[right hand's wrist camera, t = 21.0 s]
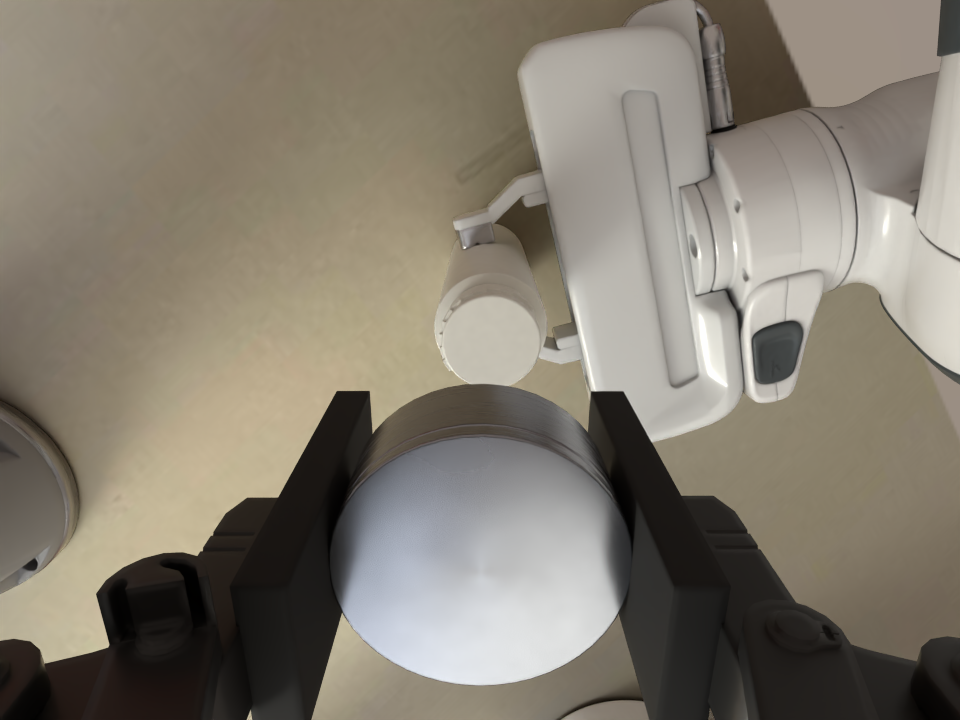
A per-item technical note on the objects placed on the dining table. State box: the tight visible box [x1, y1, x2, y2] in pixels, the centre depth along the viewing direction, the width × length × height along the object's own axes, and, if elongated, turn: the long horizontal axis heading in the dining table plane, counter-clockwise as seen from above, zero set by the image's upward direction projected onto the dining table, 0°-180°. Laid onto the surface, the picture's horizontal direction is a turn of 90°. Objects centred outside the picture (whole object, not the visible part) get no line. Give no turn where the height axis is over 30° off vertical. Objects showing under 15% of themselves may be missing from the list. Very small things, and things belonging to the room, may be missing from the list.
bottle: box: [434, 224, 547, 386], centre depth 30 cm, size 4×4×16 cm
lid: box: [328, 384, 633, 686], centre depth 11 cm, size 5×5×2 cm
